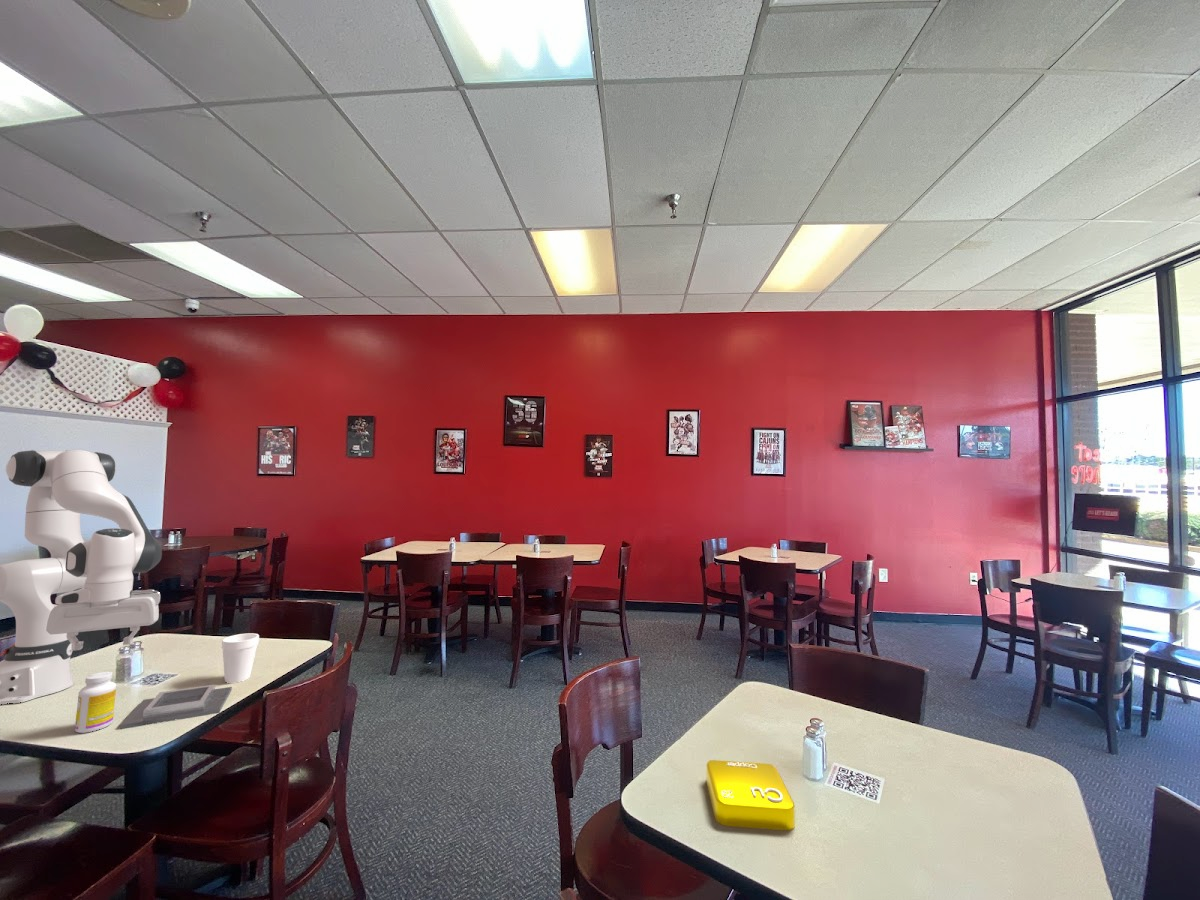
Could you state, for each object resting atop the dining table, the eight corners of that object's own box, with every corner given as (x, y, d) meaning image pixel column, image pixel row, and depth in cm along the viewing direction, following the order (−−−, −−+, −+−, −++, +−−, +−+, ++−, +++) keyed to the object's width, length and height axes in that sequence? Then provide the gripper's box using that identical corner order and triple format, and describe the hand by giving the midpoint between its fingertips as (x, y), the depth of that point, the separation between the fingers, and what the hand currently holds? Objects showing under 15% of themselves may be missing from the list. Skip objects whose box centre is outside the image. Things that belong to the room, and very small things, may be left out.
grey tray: (119, 729, 118) (120, 716, 119) (143, 703, 132) (144, 692, 133) (219, 712, 128) (220, 701, 128) (231, 690, 142) (232, 679, 142)
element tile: (774, 783, 102) (774, 760, 102) (798, 833, 87) (797, 806, 88) (705, 779, 103) (705, 756, 104) (716, 827, 88) (716, 800, 89)
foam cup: (216, 687, 143) (220, 644, 144) (220, 677, 151) (224, 636, 152) (254, 681, 149) (258, 639, 150) (256, 671, 156) (259, 631, 157)
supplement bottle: (120, 721, 122) (125, 670, 124) (93, 734, 116) (99, 680, 117) (93, 720, 122) (99, 670, 123) (65, 734, 116) (72, 680, 117)
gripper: (165, 586, 130) (160, 637, 128) (59, 593, 120) (53, 649, 119) (157, 590, 124) (152, 644, 123) (46, 598, 114) (39, 656, 113)
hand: (102, 646), depth 121 cm, fingers open, 8 cm apart
